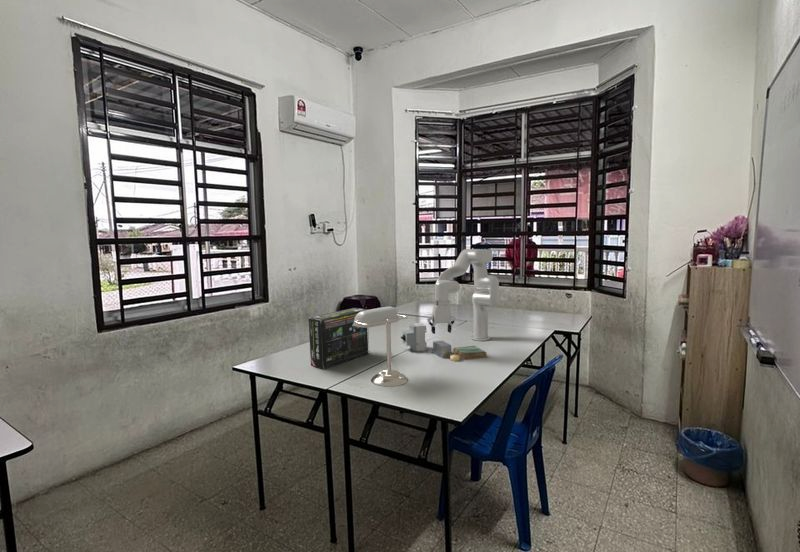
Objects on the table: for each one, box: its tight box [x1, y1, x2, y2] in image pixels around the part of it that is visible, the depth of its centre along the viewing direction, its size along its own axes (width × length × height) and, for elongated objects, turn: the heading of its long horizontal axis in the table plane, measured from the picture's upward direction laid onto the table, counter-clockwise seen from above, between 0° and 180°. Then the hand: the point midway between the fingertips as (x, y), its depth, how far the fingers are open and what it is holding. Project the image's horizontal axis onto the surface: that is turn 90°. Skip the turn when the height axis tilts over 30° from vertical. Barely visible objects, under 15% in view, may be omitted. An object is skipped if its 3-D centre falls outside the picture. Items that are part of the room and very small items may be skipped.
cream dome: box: [449, 354, 460, 362], centre depth 230 cm, size 5×5×2 cm
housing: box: [432, 340, 452, 359], centre depth 240 cm, size 11×6×7 cm, turn 22°
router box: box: [307, 307, 370, 370], centre depth 233 cm, size 36×11×27 cm, turn 141°
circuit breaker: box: [400, 322, 428, 352], centre depth 251 cm, size 8×14×15 cm, turn 108°
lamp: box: [353, 306, 409, 387], centre depth 202 cm, size 26×24×34 cm
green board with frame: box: [452, 345, 487, 360], centre depth 240 cm, size 14×14×3 cm
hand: (441, 332), depth 238 cm, fingers open, 9 cm apart
